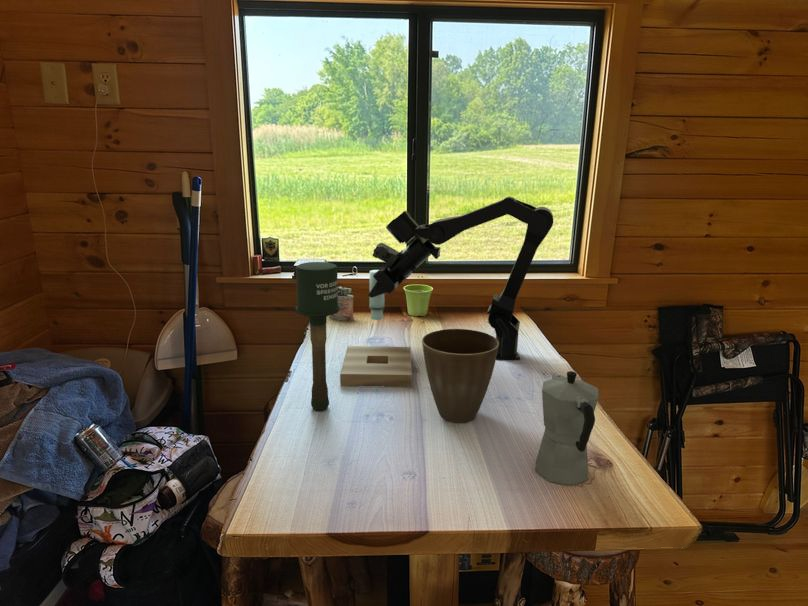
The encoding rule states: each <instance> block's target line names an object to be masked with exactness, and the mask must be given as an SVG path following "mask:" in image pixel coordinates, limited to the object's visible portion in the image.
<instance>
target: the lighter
mask: <svg viewBox="0 0 808 606" xmlns="http://www.w3.org/2000/svg"><path fill="white" fill-rule="evenodd" d="M351 293H352V288H351V287H350V288H349V287H348V288H347V287H343V286H338V305H339V307H340V311H339V312H338V313H336V314H333V315H329V316H328V319H331V320H338V321H350V322H351V321H353V320H354V318H355V316H354V298H355V297H354V295H352V294H351Z"/></svg>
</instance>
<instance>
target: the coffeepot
mask: <svg viewBox="0 0 808 606" xmlns="http://www.w3.org/2000/svg"><path fill="white" fill-rule="evenodd" d="M577 373H578V372H576V371H572V370H571V371H566V376H564V375H560V374H558V375H556V376H555V375H551V379H547V380H543V381H542V386H541V387H542V388H541V397H542V399H541V400H542V414H543V415H542V416H543V425H544V426H543V427H544V431H543V436H542V439H541V442H540V444H539V445H540V446H539V449H538V453H537V457H536V460H535V468H534V471H535V472H536V473H538V475H539V476H540V477H541V478H543V479H544V480H546V481H549V482H550V483H553V484H557V485H563V486H574V485H575V486H576V485H580V484H583V483H584V482H585V481H587V480H589V463H588V462H589V461H588V446H587V445H588V443H589V440H590V438H591V434H592V432H593V429H594V426H595V422H596V415H595V410H596V408H597V405H598V401H599V398H600V397H599V388H598V387H596V386H594V385H591V384H590V383H588V382H586V381H583V380H580V379H576V378H577V375H578V374H577Z"/></svg>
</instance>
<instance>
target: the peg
mask: <svg viewBox="0 0 808 606" xmlns="http://www.w3.org/2000/svg"><path fill="white" fill-rule="evenodd" d="M379 270H380V269H372V270H369V293H370V292H371V290H372V289H373V287H374V285H375V284H376V282H377V280H376V279H375V278H374V277H373V275H374V274H375V273H376V272H377V271H379ZM368 308H369V309H370V319H371V320H374V321H381V320H383V319H384V313H383V312H384V309H385V308H386V305H385V293H384V294H381V295H378V296H375V297H372V298H370V297H369V305H368Z"/></svg>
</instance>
